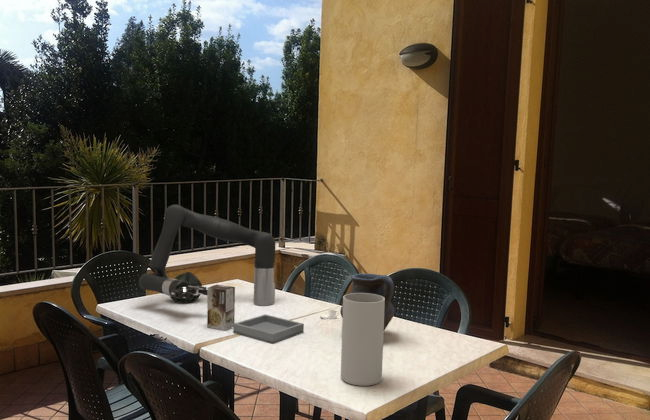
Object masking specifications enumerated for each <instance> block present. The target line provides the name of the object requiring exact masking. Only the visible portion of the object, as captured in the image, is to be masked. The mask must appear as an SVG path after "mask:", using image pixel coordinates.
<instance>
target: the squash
mask: <svg viewBox="0 0 650 420" xmlns="http://www.w3.org/2000/svg"><path fill="white" fill-rule="evenodd" d="M173 279H177V280H182V281H185V282H187V283H188V285H189V286H194V287H196V286H197V285H198V286H203V285H202V282H201V281H200V280H199V278H198V277H197V276H196V275H195V274H194V273H192V272H191V271H186V272H183V273H180V274H178V275H176V276H175V277H174V278H173ZM195 293H196V290H195ZM201 295H202V294H198V295H193V299H189V298H182V299H179V298H175V297H171V296H169V298H170V299H171V300H172V301H174V302H181V303H182V302H184V303H187V304H189V303H193V302H195V301H197V300H198V299H199V298H200V297H201Z"/></svg>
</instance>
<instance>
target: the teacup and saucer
mask: <svg viewBox="0 0 650 420" xmlns="http://www.w3.org/2000/svg"><path fill="white" fill-rule="evenodd" d="M339 314H340V312H339V311H338V310H337V309H335V308H330V309H328V314H323V313H322V314H320V317H319V318H321V319H323V320H324V321H329V322H330V321H331V322H338V321H340V320H342V316H341V317H340V316H339ZM336 318H337V319H336Z"/></svg>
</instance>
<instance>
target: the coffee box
mask: <svg viewBox="0 0 650 420" xmlns="http://www.w3.org/2000/svg"><path fill="white" fill-rule="evenodd" d="M235 289H236V287H235V286H230V285H222V284H215V285H211V286H209V287H207V289H206V290H207V295H206V296H207V298H206V299H207V305H206V306H207V311H206V312H207V313H206V314H207V315H206V316H207V317H206V318H207V321H206V322H207V325H206V326H207V328H210V329H216V330H221V331H228V330H230V329H233V328H232V327H233V324H234V323H235V307H236V306H235V305H236V304H235V301H236V299H235V296H236V295H235V294H236V293H235V292H236V290H235Z"/></svg>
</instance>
